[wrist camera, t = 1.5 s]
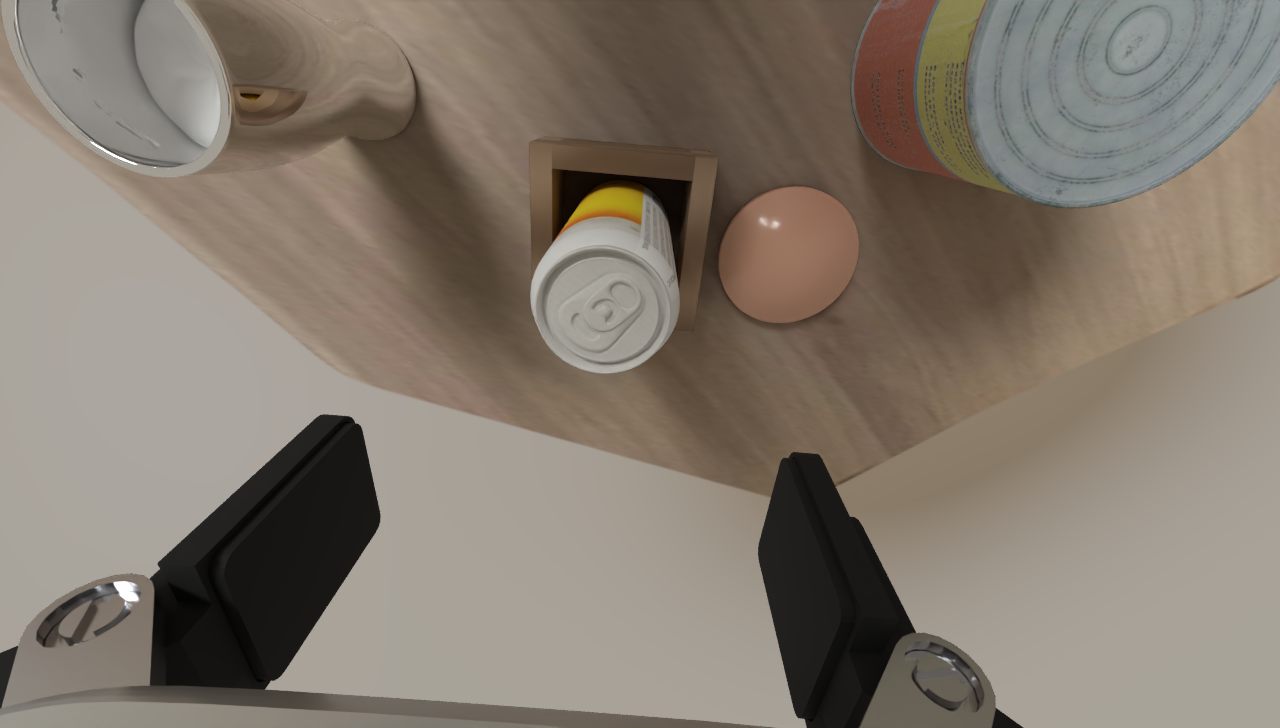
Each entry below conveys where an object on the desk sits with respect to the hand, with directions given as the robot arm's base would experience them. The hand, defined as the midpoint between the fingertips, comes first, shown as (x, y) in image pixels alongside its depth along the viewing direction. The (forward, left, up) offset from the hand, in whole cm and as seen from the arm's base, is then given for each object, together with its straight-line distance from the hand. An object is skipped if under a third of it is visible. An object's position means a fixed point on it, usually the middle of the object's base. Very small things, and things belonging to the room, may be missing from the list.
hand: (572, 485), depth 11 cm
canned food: (-11, +18, -25) cm, 32 cm away
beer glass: (-7, -16, -24) cm, 30 cm away
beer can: (0, 0, -24) cm, 24 cm away
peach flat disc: (+1, +11, -24) cm, 27 cm away
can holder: (0, 0, -24) cm, 24 cm away
